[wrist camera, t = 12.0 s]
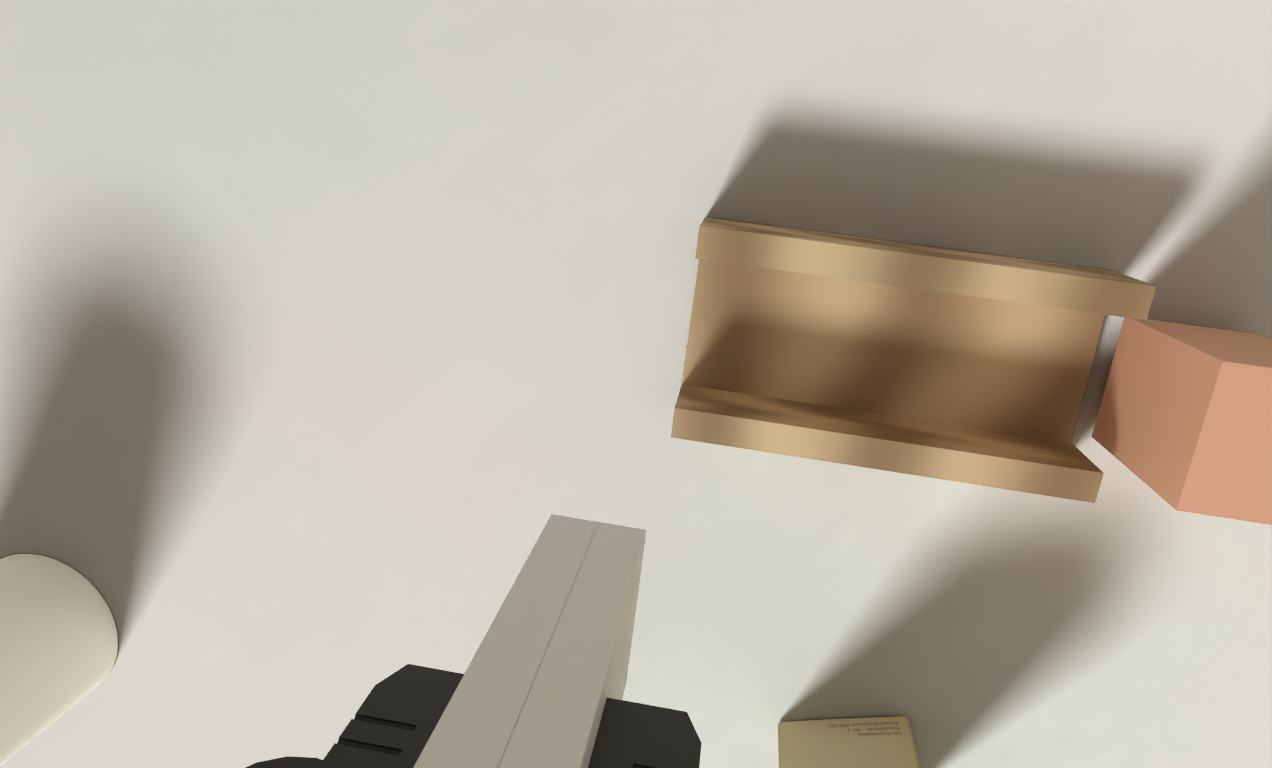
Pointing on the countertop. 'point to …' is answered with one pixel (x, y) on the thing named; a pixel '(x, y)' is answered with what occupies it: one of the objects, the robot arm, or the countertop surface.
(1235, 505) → the block
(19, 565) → the cup
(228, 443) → the countertop surface
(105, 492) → the countertop surface
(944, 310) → the chute
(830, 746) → the skincare box
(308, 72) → the countertop surface
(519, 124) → the countertop surface
